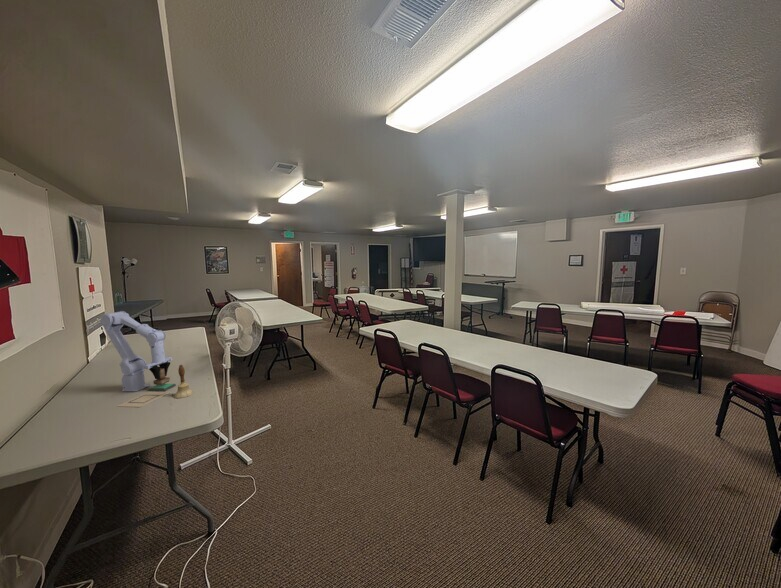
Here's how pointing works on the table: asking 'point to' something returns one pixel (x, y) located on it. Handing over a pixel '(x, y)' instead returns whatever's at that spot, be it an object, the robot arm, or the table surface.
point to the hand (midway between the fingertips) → (161, 377)
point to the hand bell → (183, 385)
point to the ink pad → (161, 387)
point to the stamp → (161, 378)
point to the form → (143, 399)
